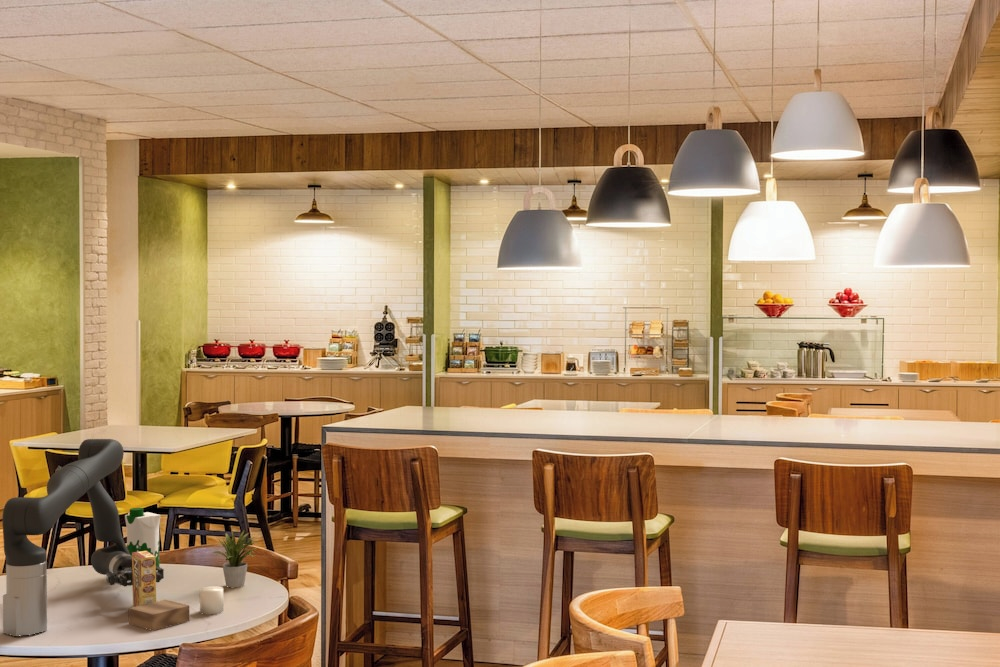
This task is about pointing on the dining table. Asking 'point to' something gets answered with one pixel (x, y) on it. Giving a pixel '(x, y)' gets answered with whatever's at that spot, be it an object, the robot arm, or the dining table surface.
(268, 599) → the dining table surface
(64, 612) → the dining table surface
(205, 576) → the dining table surface
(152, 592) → the candy box
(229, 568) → the house plant
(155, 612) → the walnut slab
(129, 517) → the milk carton
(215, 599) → the white cylinder
